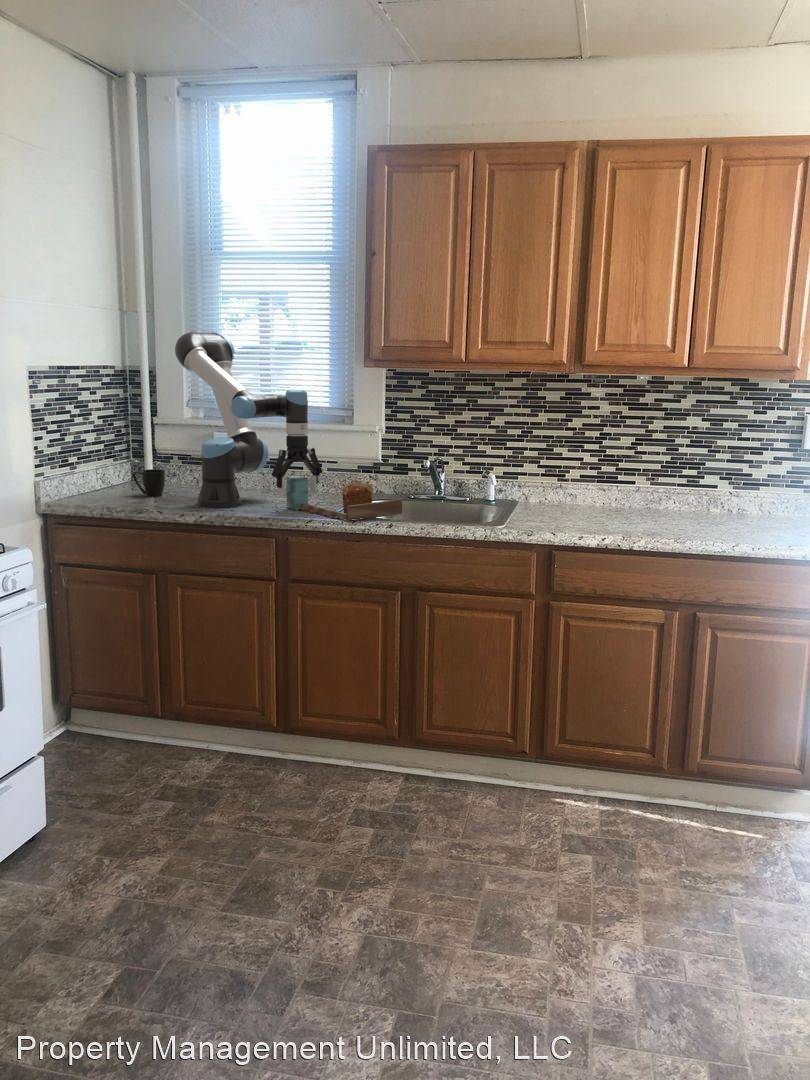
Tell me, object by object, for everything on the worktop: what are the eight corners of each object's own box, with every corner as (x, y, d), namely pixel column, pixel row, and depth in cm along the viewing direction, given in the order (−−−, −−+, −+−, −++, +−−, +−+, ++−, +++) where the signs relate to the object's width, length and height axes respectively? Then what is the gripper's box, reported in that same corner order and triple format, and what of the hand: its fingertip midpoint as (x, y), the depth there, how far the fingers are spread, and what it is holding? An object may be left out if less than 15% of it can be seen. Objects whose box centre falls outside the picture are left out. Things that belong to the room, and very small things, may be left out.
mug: (138, 493, 350) (137, 468, 348) (168, 494, 349) (168, 469, 347) (130, 496, 342) (129, 471, 340) (161, 497, 341) (160, 472, 339)
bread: (372, 516, 315) (372, 487, 313) (341, 515, 315) (341, 486, 313) (372, 506, 333) (373, 479, 331) (343, 506, 333) (343, 479, 331)
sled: (286, 507, 325) (286, 476, 323) (343, 500, 342) (343, 471, 340) (344, 521, 301) (344, 488, 299) (402, 513, 318) (402, 482, 316)
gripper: (273, 437, 308) (274, 499, 313) (332, 434, 325) (332, 493, 329) (260, 435, 314) (262, 497, 318) (319, 432, 330) (319, 490, 334)
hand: (297, 495), depth 324 cm, fingers open, 13 cm apart
